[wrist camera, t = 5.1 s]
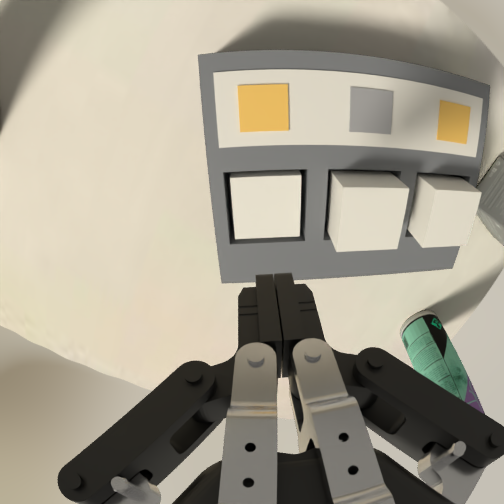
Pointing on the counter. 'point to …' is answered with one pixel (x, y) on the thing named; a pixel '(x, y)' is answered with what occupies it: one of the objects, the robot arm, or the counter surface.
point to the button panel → (332, 147)
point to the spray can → (437, 356)
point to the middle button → (365, 210)
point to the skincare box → (493, 200)
